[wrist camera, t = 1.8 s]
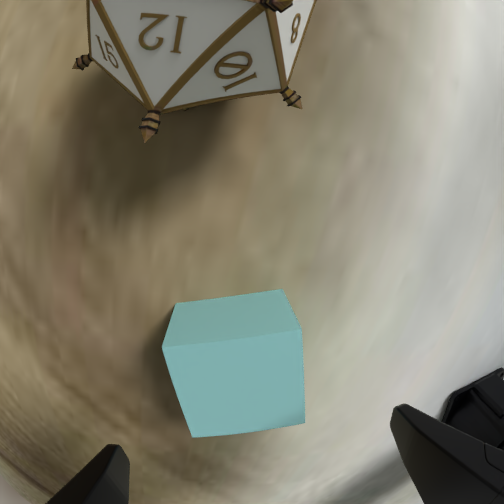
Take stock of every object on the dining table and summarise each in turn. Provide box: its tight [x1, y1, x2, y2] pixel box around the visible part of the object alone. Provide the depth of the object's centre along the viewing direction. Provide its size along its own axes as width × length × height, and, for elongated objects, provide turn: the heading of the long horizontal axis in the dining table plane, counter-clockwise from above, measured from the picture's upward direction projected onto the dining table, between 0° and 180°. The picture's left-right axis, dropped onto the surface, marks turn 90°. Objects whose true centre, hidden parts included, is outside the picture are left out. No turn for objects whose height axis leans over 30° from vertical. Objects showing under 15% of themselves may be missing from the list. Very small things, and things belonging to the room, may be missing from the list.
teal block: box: [162, 289, 305, 437], centre depth 13 cm, size 5×5×4 cm
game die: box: [72, 0, 316, 143], centre depth 7 cm, size 9×8×10 cm
